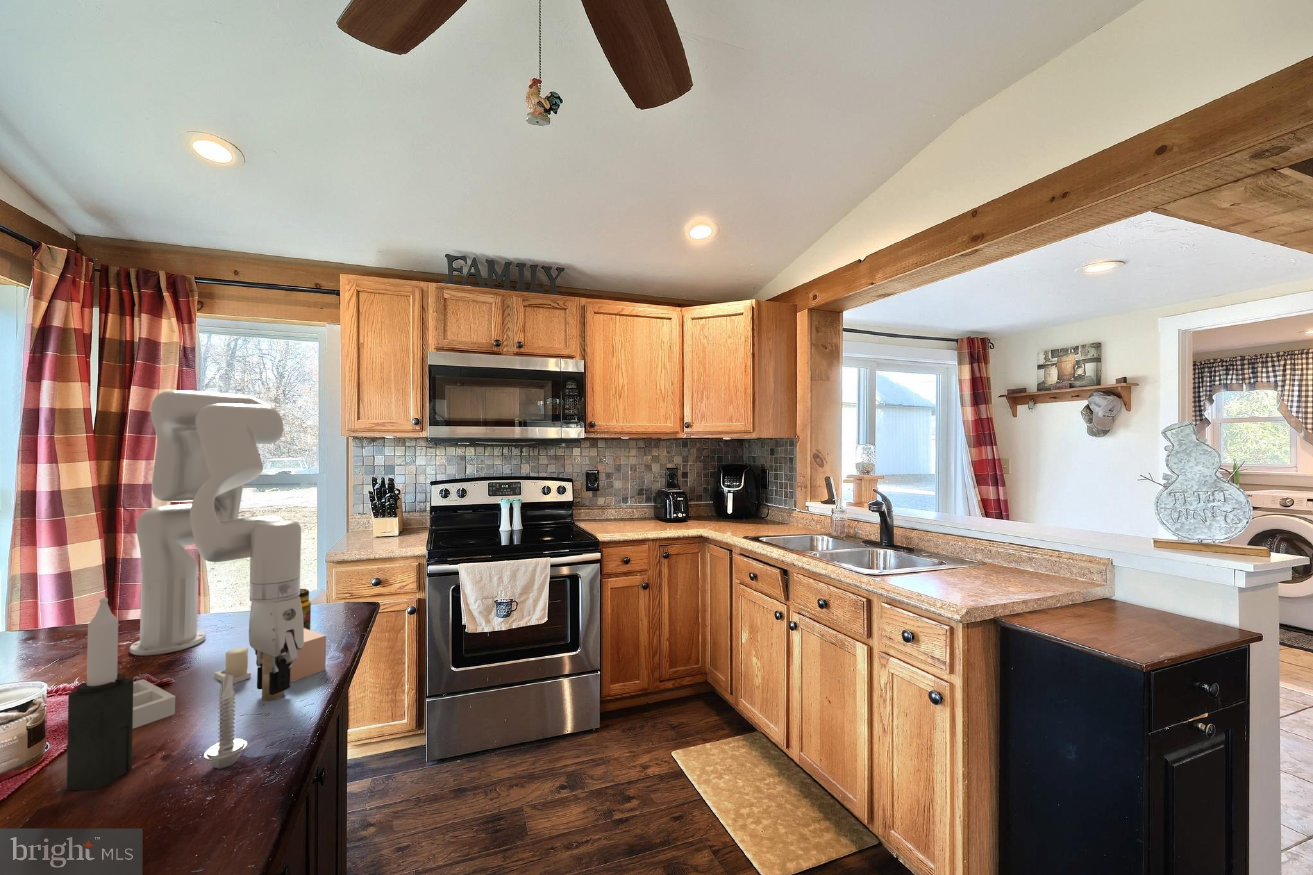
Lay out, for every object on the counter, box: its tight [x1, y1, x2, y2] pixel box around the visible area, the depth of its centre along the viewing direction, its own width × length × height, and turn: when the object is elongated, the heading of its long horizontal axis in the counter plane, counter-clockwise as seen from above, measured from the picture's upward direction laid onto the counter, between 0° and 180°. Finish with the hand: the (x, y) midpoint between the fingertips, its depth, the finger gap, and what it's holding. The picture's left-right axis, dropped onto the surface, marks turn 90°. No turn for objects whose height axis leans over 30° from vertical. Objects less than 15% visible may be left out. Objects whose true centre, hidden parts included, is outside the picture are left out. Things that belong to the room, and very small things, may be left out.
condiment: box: [298, 588, 312, 630], centre depth 121 cm, size 7×8×12 cm
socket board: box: [133, 678, 176, 730], centre depth 90 cm, size 13×7×3 cm, turn 62°
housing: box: [290, 628, 327, 683], centre depth 107 cm, size 9×6×7 cm
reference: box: [213, 647, 252, 685], centre depth 103 cm, size 6×4×6 cm, turn 62°
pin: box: [261, 649, 286, 702], centre depth 96 cm, size 3×3×9 cm
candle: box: [66, 597, 135, 791], centre depth 73 cm, size 5×5×25 cm
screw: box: [203, 674, 248, 770], centre depth 77 cm, size 13×5×5 cm
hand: (273, 687), depth 96 cm, fingers closed on pin, 3 cm apart
